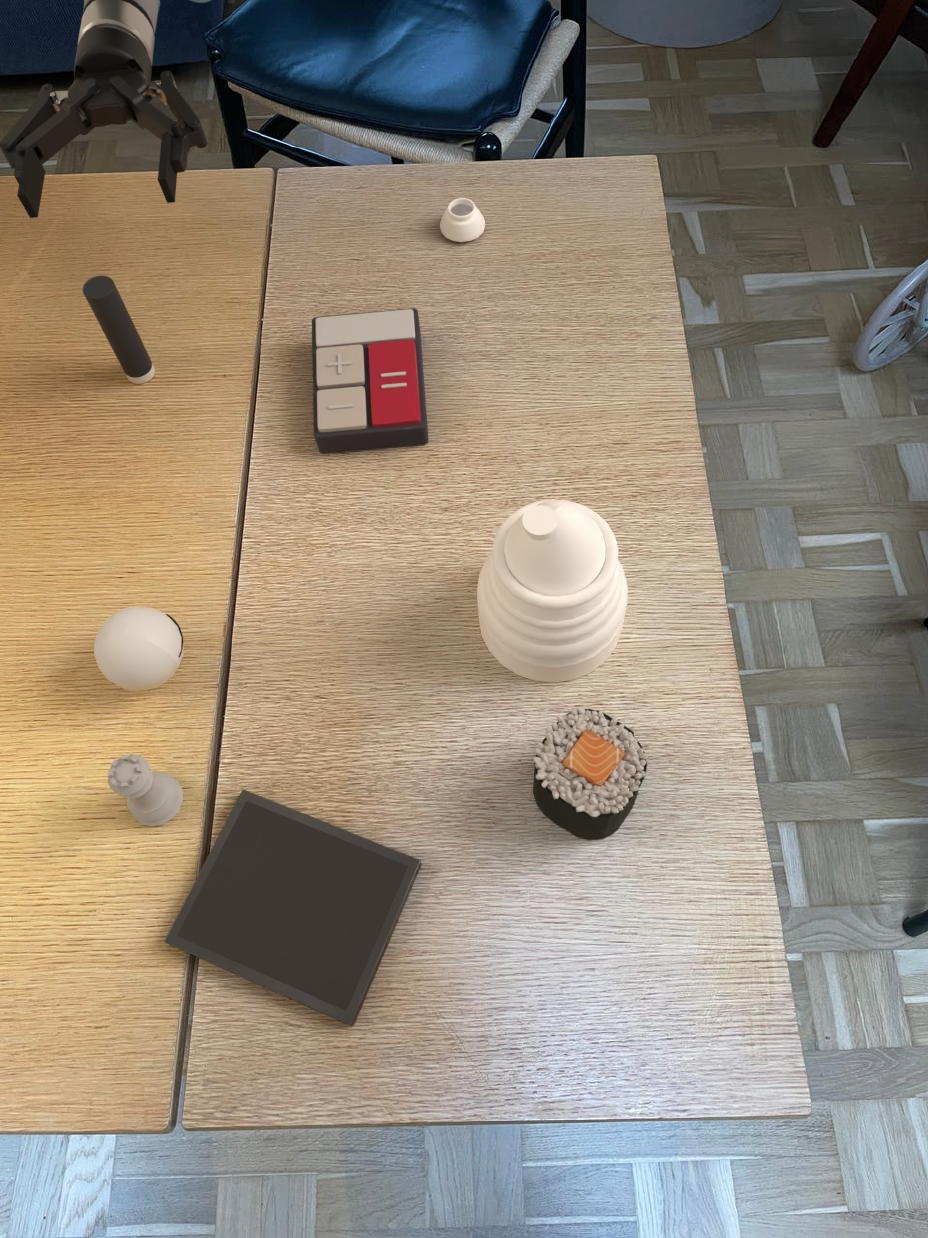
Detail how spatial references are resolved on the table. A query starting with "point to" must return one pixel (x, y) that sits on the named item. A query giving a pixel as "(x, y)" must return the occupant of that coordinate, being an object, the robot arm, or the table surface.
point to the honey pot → (552, 592)
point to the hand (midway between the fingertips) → (96, 199)
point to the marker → (119, 329)
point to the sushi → (588, 773)
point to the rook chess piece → (145, 790)
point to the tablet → (295, 906)
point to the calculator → (368, 381)
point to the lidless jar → (462, 221)
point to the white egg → (139, 648)
